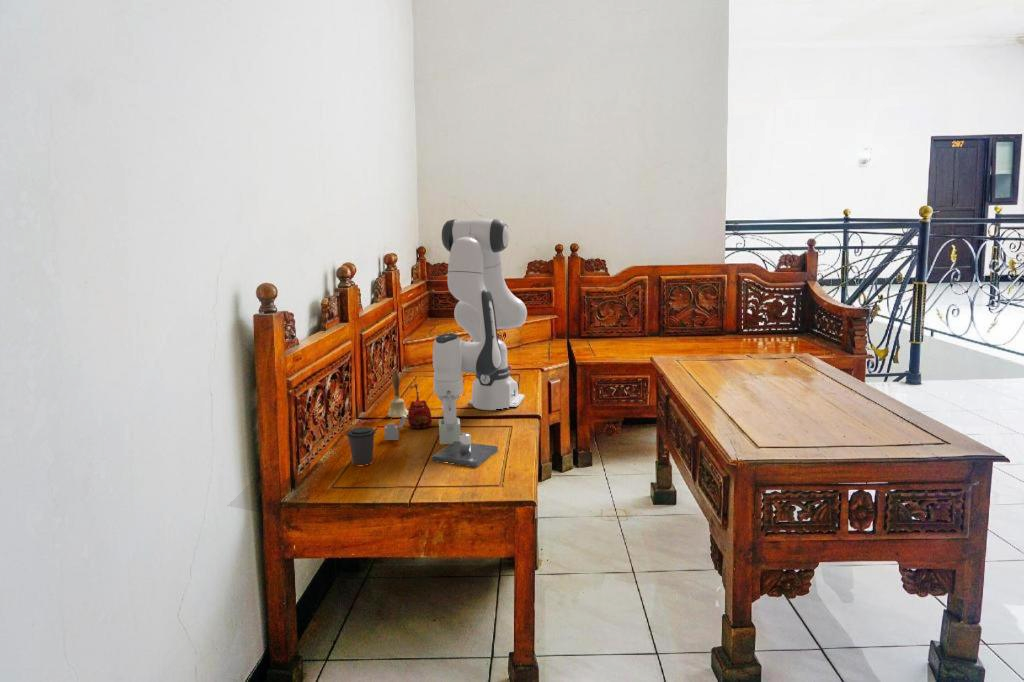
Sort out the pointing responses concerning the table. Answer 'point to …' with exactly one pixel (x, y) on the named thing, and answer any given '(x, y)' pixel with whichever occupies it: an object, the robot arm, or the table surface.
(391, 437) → the lighter
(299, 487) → the table surface
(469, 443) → the plate
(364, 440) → the coffee cup
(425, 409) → the red clay folk toy
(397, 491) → the table surface
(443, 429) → the sleeve
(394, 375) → the hand bell
